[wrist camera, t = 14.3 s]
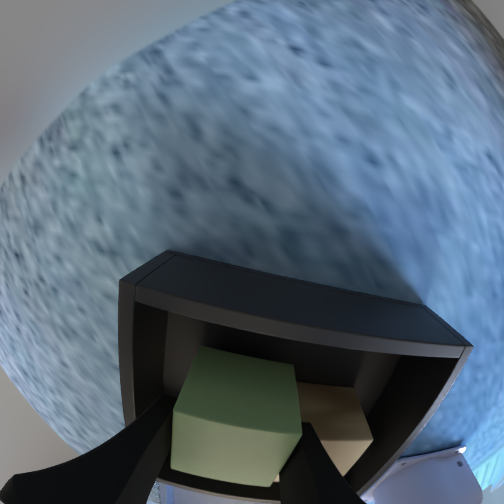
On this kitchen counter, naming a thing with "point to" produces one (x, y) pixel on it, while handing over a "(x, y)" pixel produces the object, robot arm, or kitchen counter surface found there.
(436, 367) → the black basket
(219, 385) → the green cube
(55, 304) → the kitchen counter surface
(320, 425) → the cream cube
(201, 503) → the blue box
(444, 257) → the kitchen counter surface
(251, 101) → the kitchen counter surface
